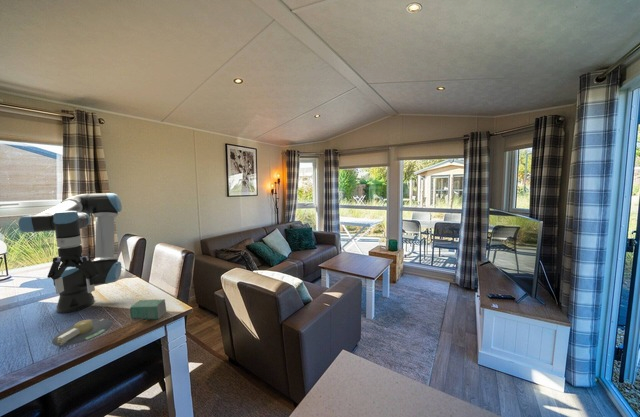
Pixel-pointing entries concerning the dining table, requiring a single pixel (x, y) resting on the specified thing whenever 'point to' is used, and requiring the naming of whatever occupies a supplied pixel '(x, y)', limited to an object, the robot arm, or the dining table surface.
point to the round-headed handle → (76, 330)
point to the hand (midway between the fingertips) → (75, 292)
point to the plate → (98, 329)
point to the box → (148, 309)
